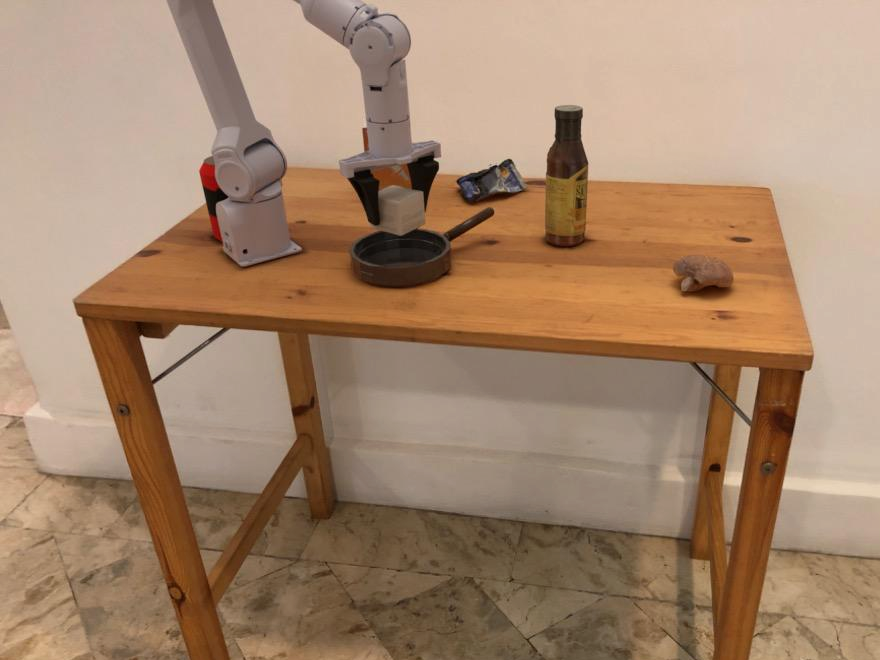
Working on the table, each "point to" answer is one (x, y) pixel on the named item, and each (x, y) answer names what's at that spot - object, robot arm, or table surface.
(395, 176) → the small box
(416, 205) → the small box
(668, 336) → the table surface
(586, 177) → the sauce bottle
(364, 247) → the pan
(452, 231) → the pan handle
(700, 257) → the mushroom
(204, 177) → the soda can
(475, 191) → the snack package
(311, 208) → the table surface
